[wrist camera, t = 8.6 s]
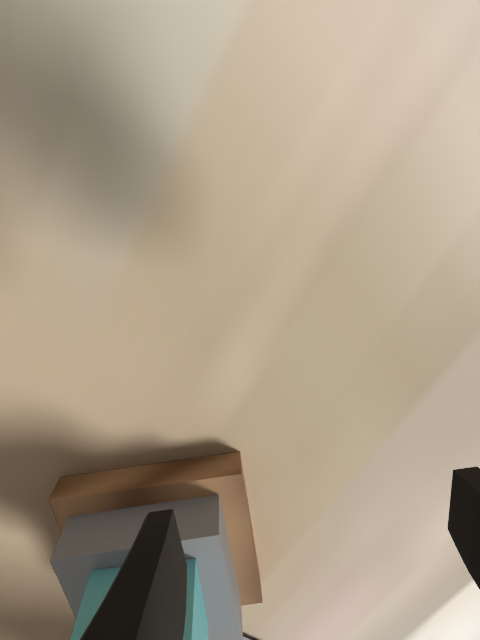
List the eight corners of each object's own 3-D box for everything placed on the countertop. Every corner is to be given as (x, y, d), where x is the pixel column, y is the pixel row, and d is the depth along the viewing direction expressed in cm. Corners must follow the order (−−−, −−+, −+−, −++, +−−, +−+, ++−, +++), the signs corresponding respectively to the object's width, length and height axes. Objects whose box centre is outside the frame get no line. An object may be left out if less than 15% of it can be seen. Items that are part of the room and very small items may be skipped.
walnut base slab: (239, 442, 23) (241, 473, 21) (258, 564, 27) (262, 602, 25) (65, 466, 23) (48, 500, 21) (108, 585, 27) (98, 625, 25)
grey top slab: (218, 493, 21) (218, 534, 19) (240, 595, 24) (243, 642, 22) (68, 516, 21) (49, 560, 19) (108, 615, 24) (96, 664, 22)
